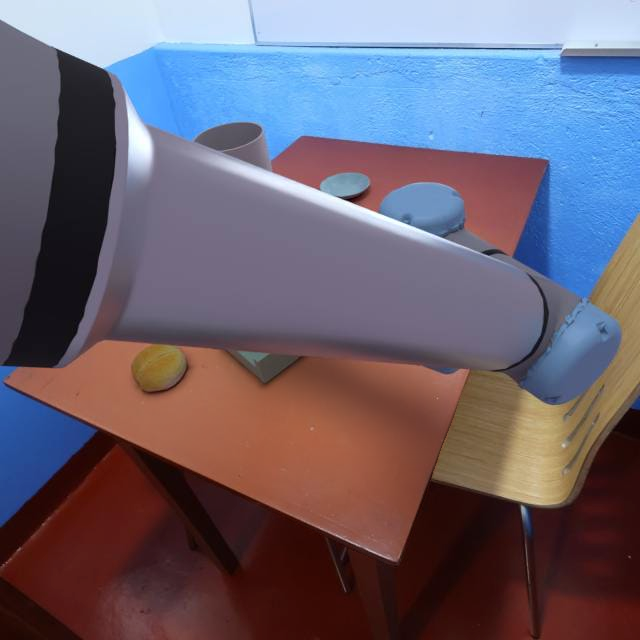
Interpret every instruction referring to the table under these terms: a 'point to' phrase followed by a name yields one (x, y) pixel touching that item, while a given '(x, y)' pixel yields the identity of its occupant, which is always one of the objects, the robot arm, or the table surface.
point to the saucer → (345, 185)
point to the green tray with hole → (264, 363)
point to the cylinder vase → (238, 142)
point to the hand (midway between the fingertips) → (215, 245)
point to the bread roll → (158, 367)
